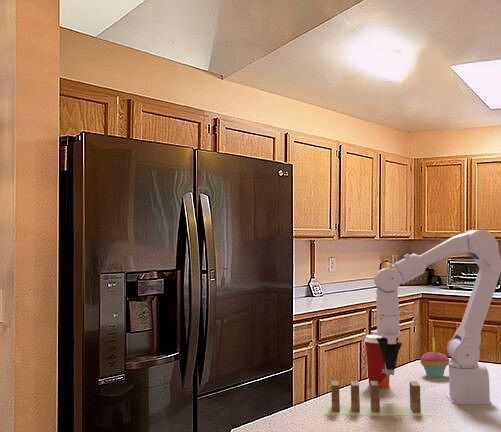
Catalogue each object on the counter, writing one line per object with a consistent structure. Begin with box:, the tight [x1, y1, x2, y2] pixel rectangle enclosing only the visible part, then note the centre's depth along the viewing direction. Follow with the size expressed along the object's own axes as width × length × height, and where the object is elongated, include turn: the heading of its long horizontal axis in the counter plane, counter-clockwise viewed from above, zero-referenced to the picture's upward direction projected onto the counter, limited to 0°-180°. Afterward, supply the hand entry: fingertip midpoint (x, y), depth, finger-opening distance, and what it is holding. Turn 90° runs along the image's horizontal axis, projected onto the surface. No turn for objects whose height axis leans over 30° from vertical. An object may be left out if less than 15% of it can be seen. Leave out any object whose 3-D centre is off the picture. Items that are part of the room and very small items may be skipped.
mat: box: [323, 403, 432, 417], centre depth 149 cm, size 25×9×1 cm, turn 84°
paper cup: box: [364, 333, 391, 389], centre depth 173 cm, size 8×8×14 cm
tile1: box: [409, 380, 422, 413], centre depth 148 cm, size 2×4×6 cm, turn 174°
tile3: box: [369, 381, 381, 412], centre depth 149 cm, size 2×4×6 cm, turn 174°
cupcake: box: [419, 334, 450, 378], centre depth 184 cm, size 9×8×12 cm
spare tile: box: [385, 365, 395, 376], centre depth 159 cm, size 2×4×6 cm, turn 174°
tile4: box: [350, 380, 361, 412], centre depth 149 cm, size 2×4×6 cm, turn 174°
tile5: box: [330, 380, 341, 412], centre depth 150 cm, size 2×4×6 cm, turn 174°
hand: (389, 367), depth 158 cm, fingers closed on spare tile, 4 cm apart
